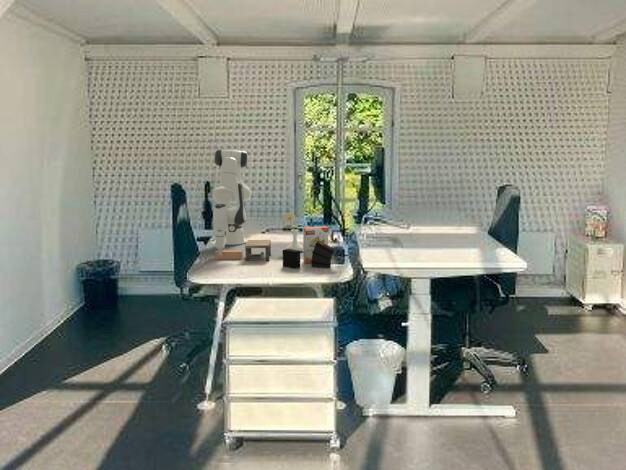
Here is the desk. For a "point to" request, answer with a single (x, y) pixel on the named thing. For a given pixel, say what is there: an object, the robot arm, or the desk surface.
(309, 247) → the cracker box
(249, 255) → the small wooden table
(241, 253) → the brown wooden block
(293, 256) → the electronic device
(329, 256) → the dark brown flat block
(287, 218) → the flower in vase
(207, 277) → the desk surface
